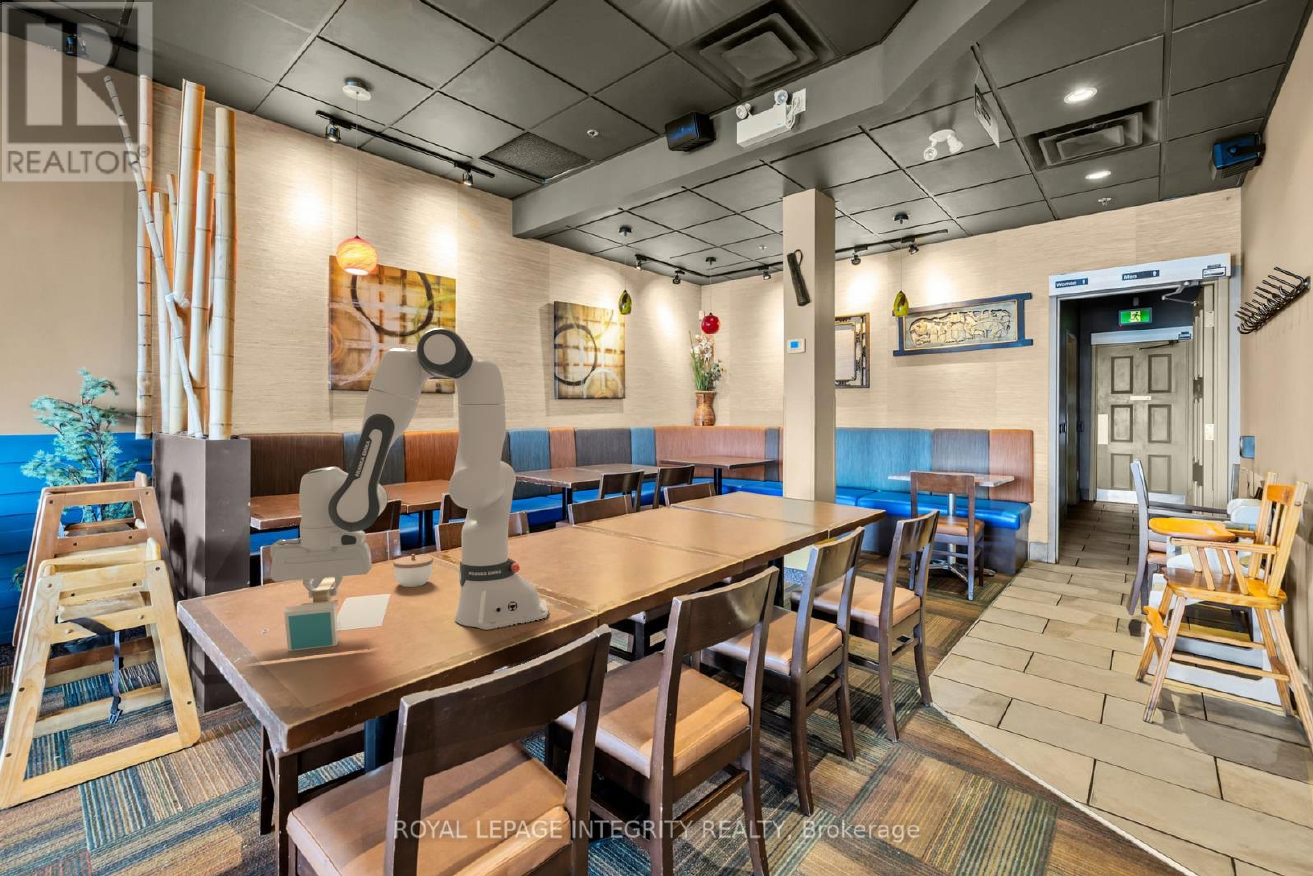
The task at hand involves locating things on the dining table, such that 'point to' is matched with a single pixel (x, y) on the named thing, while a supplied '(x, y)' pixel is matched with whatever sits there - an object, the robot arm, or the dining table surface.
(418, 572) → the lidded jar
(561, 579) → the dining table surface
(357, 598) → the mat
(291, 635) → the rectangular block
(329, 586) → the turner
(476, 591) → the robot arm
